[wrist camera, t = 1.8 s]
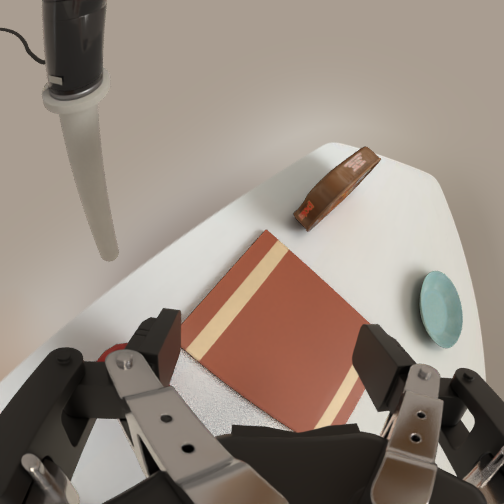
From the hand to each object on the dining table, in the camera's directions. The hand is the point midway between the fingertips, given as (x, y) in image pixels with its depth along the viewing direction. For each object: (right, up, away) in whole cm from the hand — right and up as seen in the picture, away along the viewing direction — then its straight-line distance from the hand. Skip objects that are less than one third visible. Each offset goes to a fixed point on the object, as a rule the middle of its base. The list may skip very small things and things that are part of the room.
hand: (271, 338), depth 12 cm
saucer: (+26, -5, +25) cm, 37 cm away
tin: (+8, +10, +24) cm, 28 cm away
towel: (+4, -6, +16) cm, 17 cm away
